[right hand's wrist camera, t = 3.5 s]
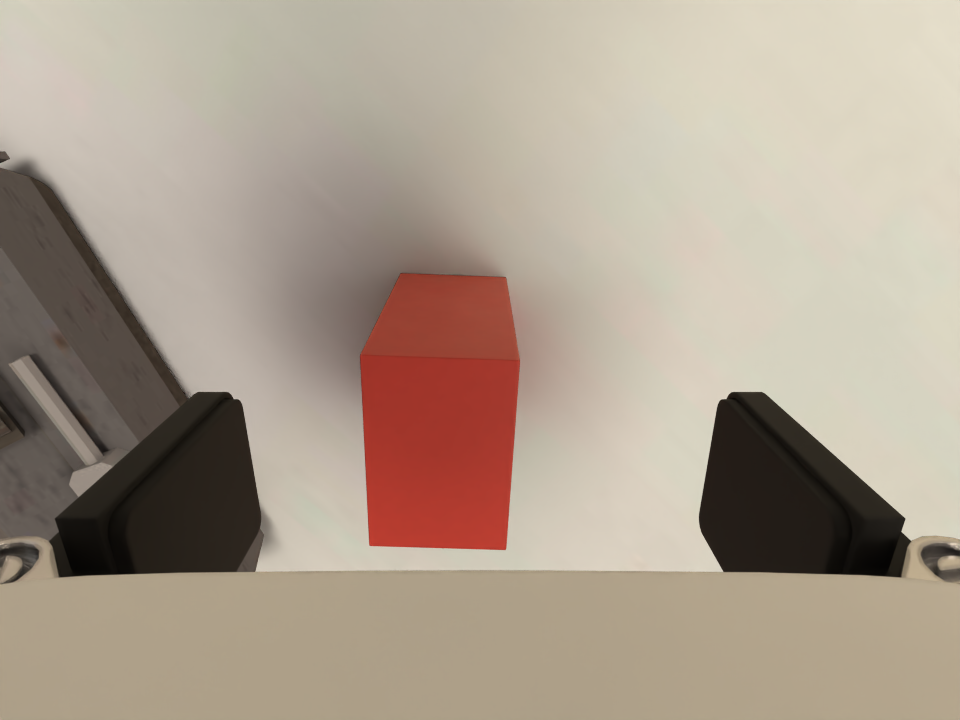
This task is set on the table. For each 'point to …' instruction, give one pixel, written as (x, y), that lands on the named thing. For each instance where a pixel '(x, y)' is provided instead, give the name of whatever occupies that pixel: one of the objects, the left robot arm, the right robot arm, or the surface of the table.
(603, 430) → the table surface
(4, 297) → the toy
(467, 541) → the block
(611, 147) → the table surface
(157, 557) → the right robot arm
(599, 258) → the table surface
